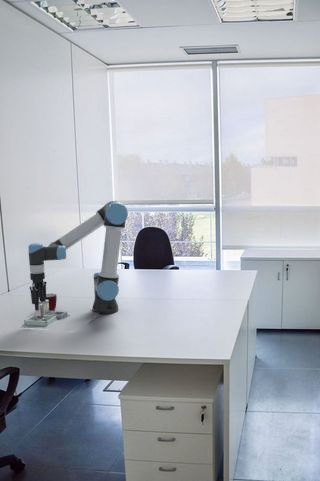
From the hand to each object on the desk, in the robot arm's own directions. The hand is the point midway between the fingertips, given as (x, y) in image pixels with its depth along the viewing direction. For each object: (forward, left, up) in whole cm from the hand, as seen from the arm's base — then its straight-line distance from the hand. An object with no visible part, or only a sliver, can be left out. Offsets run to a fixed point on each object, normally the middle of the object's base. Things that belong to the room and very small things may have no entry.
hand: (40, 314), depth 257 cm
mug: (+8, -22, -5) cm, 24 cm away
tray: (0, 0, -5) cm, 5 cm away
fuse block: (-1, -11, -5) cm, 12 cm away
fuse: (+3, -11, -4) cm, 12 cm away
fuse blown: (0, 0, -3) cm, 3 cm away
